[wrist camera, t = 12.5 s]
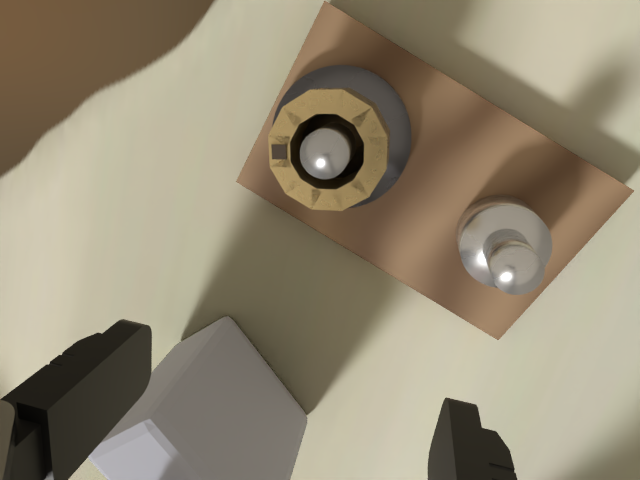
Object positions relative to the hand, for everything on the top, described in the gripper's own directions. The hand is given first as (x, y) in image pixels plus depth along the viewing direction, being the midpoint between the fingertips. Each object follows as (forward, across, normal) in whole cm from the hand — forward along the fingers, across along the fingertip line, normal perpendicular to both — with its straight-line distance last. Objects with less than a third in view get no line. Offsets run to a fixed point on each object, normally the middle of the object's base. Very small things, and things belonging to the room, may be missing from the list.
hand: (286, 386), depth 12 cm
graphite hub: (+20, +2, -4) cm, 21 cm away
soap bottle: (+22, +8, +18) cm, 30 cm away
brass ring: (+17, +2, -4) cm, 18 cm away
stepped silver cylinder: (+20, -9, 0) cm, 22 cm away
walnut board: (+22, -3, -2) cm, 22 cm away
